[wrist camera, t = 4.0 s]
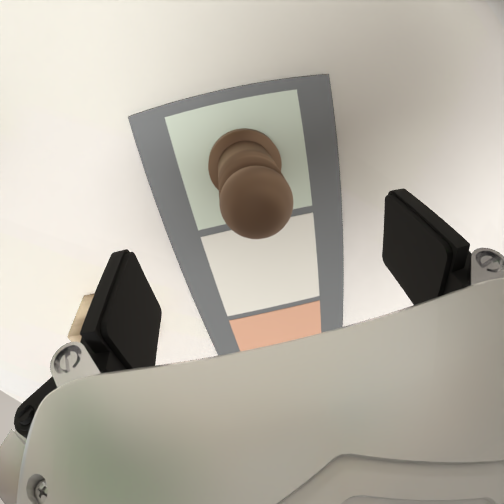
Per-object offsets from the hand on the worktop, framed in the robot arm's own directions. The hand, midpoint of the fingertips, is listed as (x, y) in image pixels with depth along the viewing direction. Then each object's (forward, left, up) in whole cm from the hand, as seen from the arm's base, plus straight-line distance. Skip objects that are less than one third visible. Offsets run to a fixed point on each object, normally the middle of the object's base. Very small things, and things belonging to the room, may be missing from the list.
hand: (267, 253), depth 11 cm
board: (0, +9, -11) cm, 14 cm away
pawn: (0, 0, -11) cm, 11 cm away
